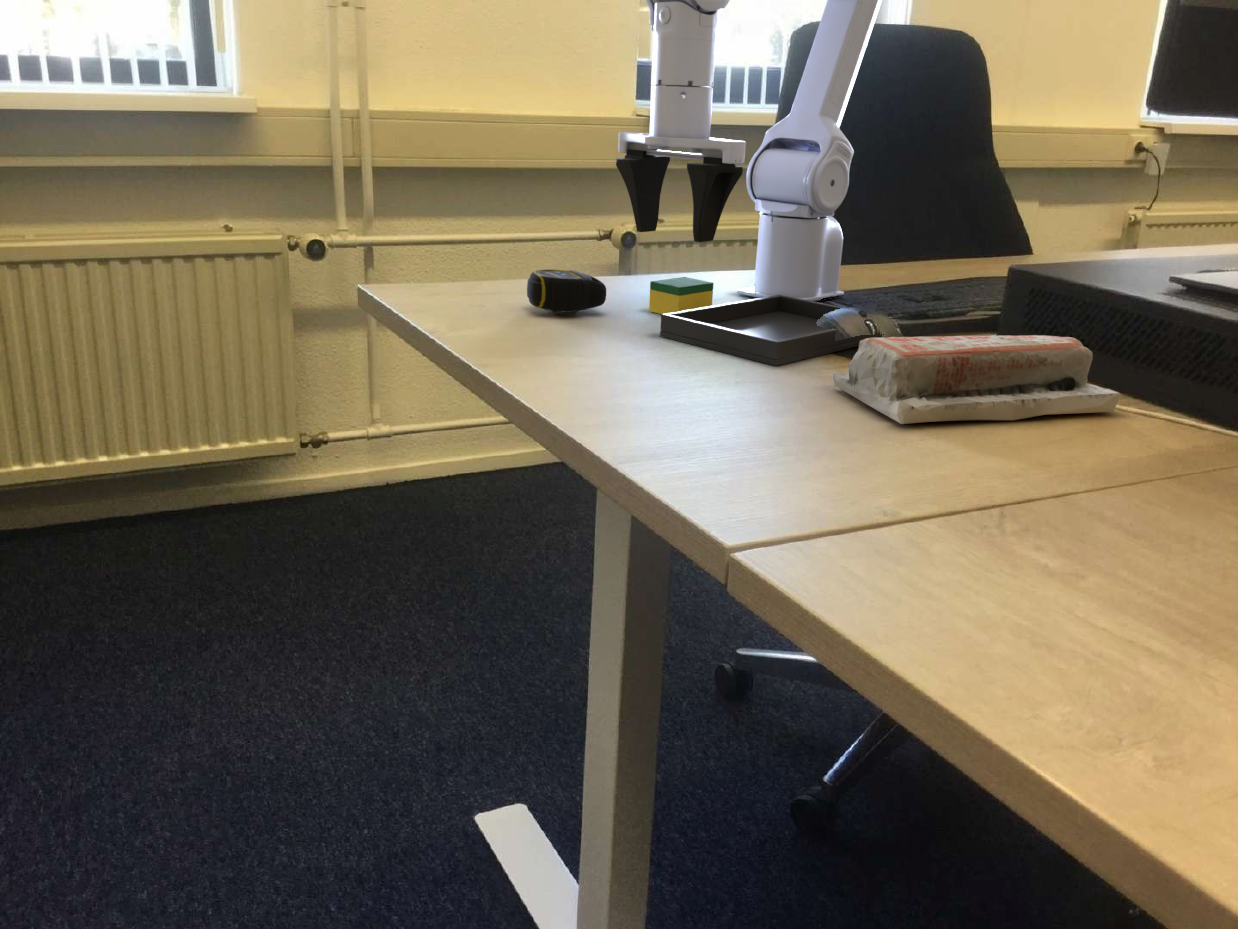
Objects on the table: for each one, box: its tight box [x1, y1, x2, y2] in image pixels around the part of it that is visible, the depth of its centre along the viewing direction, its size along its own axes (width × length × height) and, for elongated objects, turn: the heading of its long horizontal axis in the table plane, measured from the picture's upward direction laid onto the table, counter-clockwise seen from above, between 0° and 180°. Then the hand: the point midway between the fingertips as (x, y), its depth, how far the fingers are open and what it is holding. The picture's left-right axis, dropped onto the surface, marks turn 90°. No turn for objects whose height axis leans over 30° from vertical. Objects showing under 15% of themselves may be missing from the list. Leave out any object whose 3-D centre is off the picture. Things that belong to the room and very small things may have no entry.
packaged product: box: [831, 334, 1122, 425], centre depth 76 cm, size 18×5×10 cm
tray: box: [659, 295, 894, 367], centre depth 95 cm, size 17×13×2 cm
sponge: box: [648, 276, 714, 315], centre depth 104 cm, size 5×4×3 cm
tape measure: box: [526, 268, 607, 315], centre depth 102 cm, size 7×7×4 cm
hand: (674, 236), depth 101 cm, fingers open, 7 cm apart
